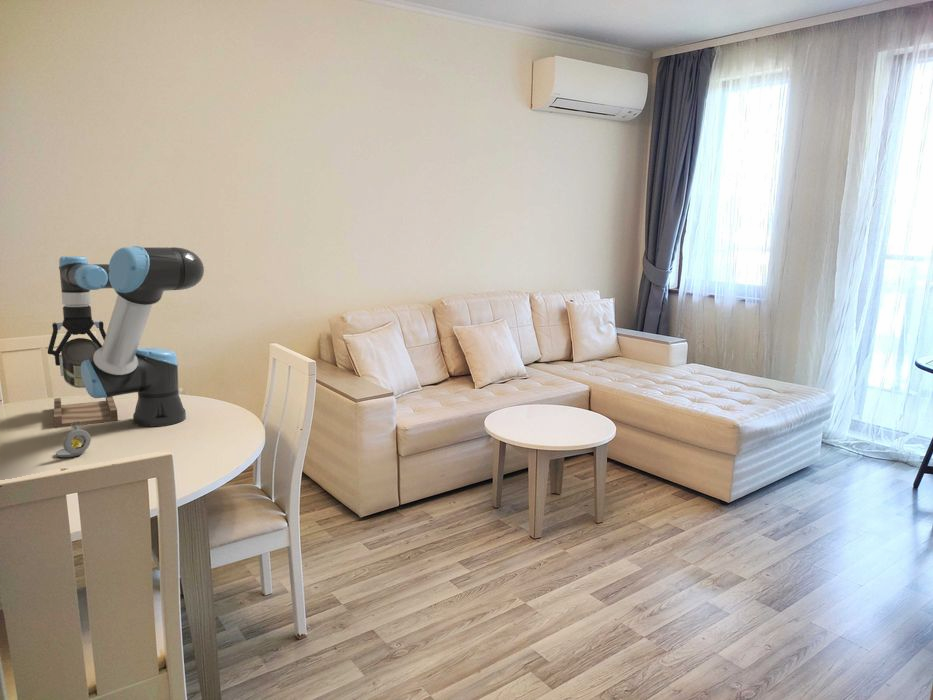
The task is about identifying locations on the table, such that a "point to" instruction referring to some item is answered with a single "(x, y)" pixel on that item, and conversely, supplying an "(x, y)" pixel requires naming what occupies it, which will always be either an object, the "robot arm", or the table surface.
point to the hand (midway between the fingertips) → (82, 373)
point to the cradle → (84, 412)
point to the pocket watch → (75, 442)
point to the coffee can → (76, 359)
